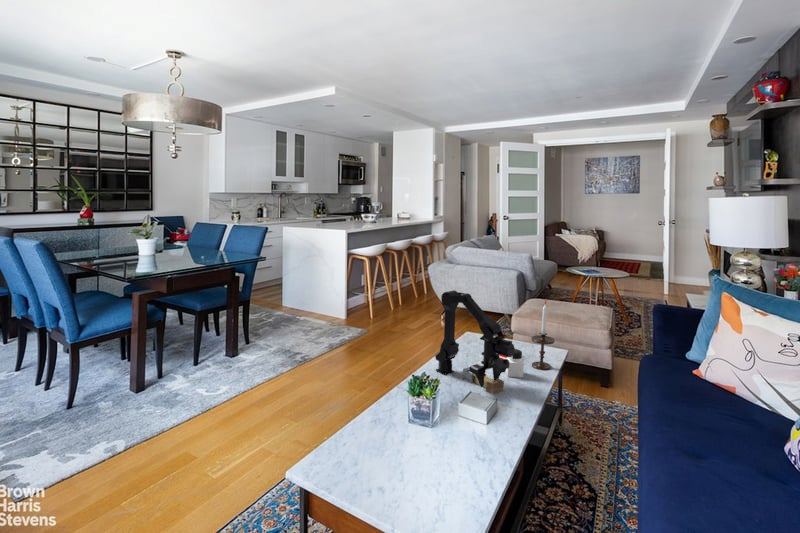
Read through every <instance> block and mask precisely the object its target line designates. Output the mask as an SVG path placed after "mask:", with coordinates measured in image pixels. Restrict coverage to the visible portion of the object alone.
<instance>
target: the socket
mask: <svg viewBox="0 0 800 533" xmlns="http://www.w3.org/2000/svg"><path fill="white" fill-rule="evenodd" d="M496 381H497V383H494V384H492V383H490V382H487V383H486V388H485V392H487V393H489V394H491V395H493V394H497V393H500V392H503V391H504V390H505V389H504V388H505V381H504V380H502V379H500V378H499V379H497V380H496Z"/></svg>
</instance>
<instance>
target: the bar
mask: <svg viewBox="0 0 800 533" xmlns="http://www.w3.org/2000/svg"><path fill="white" fill-rule="evenodd" d="M487 382H490V383H492V384H494V383H497V381H495V380H494V378H490V377H489V376H488V375H486V376H485V377H484V385H483V387H482V388H484V389H486V383H487ZM473 383H475V384H477V385H479V386H480V383H479V381H478V379H477V377H476V375H475V374H473Z"/></svg>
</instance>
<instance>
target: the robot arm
mask: <svg viewBox="0 0 800 533" xmlns="http://www.w3.org/2000/svg"><path fill="white" fill-rule="evenodd" d="M440 296H441V298H440V299H441V300H440V301H441V305H442V307H443V309H444V322H443V324H444V326H443V328H444V329H443V330H444V332H443V340H442V342H441V344H440V348H439V352H438V353H436V354H435V355H434V357H435V360H436V361H438V368H436V370H435V371H436V372H438V373H440V374H442V375H445V376H446V375H449V374H453V373H455V370H453V360H452V359H455V358H456V356H457V355H458V353H459V352H460V350H459V345H460V344H459V343H458V342H457V341H456V339H455V335H456V334H455V331H456V311H457V308H458V305H459V304H462V305H463V306H464V307H465V309H466V310H467V311H468V312H469V313H470V315H471V316H472V317H473V318H474V319H475V320H476V322H477V324H478V327H479V330H480V332H481V333H482V336H481V337H480V338H479V340H481V341H483V351H482V352H481V355H482V356H483V358H482V359H483V360H482V361H480V364H481V365H480V364H478V363H476V364H472V365H470V366H469V367H470V371H469V372H470V373H473V374H475V375H476V377H477V379H478V381H479V383H480V385H479V387H481V388H484V387H483V385H484V377H485V376H487V374H486V370H490V369H492V376H493V380H495V381H496V380H497V379H500V376H501V374H502V373H506V369H507V368H509V360H508V359H504V358H502V357H500V356H504V357H506V358H507V357H512V356H513V354H514V351H515V349H516V348H515V344H513V341H512V340H508V339H506V336H505V334H504V333H503V331H502V329H501V326H500V324H499V323H498V322H497V321H496V320H495V319H493V318H492V317H490V316H488V315H487V314H486V313H485V312H484V310H483V309H482V308H481V307H480V306H479V304H478V303H477V302H476V301H475V300H474V299H473V297H472V295H471V294H470V293H467V292H466V293H465V292H461V291H460V292H459V291H457V290H448V291H445V292H443V293H441V295H440Z"/></svg>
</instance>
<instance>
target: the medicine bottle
mask: <svg viewBox="0 0 800 533" xmlns="http://www.w3.org/2000/svg"><path fill="white" fill-rule="evenodd" d="M522 357H523V351H521V350H520V349H519V348H515V351H514V354H513V356H512V357H507V356H506V359H508V360H509V368H507V369H506V371H505V373H506V375H507V377H508V378H524V368H525V367H524V365H525V363H524V361H523V359H522Z"/></svg>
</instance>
